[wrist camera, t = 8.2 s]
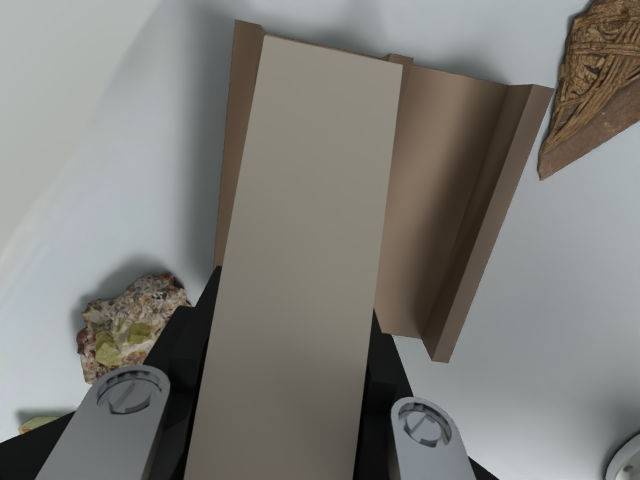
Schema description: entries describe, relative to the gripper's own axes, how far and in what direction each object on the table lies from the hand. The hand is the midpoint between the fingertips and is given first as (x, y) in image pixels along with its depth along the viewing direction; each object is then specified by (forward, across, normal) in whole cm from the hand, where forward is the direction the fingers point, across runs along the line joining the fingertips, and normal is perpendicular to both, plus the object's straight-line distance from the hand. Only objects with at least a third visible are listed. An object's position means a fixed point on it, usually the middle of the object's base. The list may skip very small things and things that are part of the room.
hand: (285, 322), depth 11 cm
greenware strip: (+2, 0, +1) cm, 2 cm away
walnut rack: (+15, -4, 0) cm, 15 cm away
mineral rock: (+15, +10, +12) cm, 22 cm away
